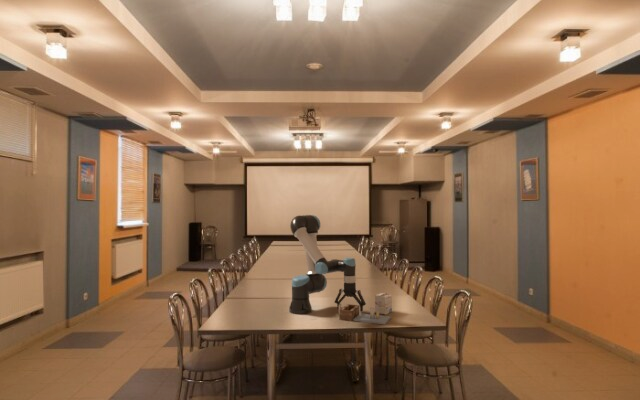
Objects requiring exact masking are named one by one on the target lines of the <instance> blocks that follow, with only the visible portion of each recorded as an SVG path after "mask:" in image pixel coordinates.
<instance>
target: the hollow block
mask: <svg viewBox="0 0 640 400" xmlns="http://www.w3.org/2000/svg"><path fill="white" fill-rule="evenodd" d="M359 306H360V305H359V304H349V303H348V304H347V303H346V305H344V306H343V307H341V309H340V310H339V309H338V315H339V320H340V321H348V322H349V321H350V322H352V321H354V318H355V317H356V316H358V315H359Z"/></svg>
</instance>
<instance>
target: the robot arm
mask: <svg viewBox="0 0 640 400" xmlns="http://www.w3.org/2000/svg"><path fill="white" fill-rule="evenodd" d="M289 226H290V231H291V233H292V235H293V236H294V237H295V238H297V239H298V241H299V243H300V244H301V245H302V246H303V248H304V250H305V258H306V259H305V260H306V266H307V271H306V273H305V274H301V275H300V274H299V275H296V276H294V277H293V278H292V279H291V301H290V304H289V309H288V310H289V311H288V312H289V313H291V314H295V315H305V314H310V313H312V311H313V309H312V308H313V307H312V305H311V301H310V295H311V294H315V293H320V292H323V291H324V290H325V289H326V288H327V283H328V281H327V278H326V276H325V275H326V274H329V273H330V274H331V273H337V272H340V273H343V288H339V290H338V293H337V296H336V297H335V299H334V304H336V306H337V308H336V309H337V310H338V311H339V310H340V309H342V302H343V300H344V299H345V298H346V297H347V298H349V297H350V298H354V300H355V301H356V302H357V304H358V305H359V317H360V316H361V313H362V312H363V311H364V306H365V305H366V304H367V303H366V301H365V299H364V296H363V295H362V292H361V289H359V290H358V289H357V288H356V287H357V286H356V280H357V279H356V277H357V275H356V259H355V258H354V257H344V258H343V260H342V259H337V258H336V259H335V258H334V259H331V260H328V259H326V257H325V256H324V254H323V253H322V252H321V250H320V249H319V247H318V241H317V236H318V234H319V230H320V228H321V221H320V219H319V218H318V216H317V215H313V214H312V215H311V214H305V215H304V214H303V215H296V216H294V217H293V218H292V220H291V221H290V225H289ZM356 289H357V290H356ZM342 293H344V294H343V295H342ZM356 294H357V295H356ZM341 295H342V297H341Z"/></svg>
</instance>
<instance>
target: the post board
mask: <svg viewBox="0 0 640 400" xmlns="http://www.w3.org/2000/svg"><path fill="white" fill-rule="evenodd" d="M375 313H376V314H375ZM390 320H391V316H390V315H389V316H387V315H381V314H380V313H379V312H375V307H370V308H369V313H362V312H361V316H360V317H359V315H358V316H356V317H355V318H354V319H353V321H354V322H362V323H369V324H376V325H377V324H379V325H386V324H387V323H388V322H389V321H390Z"/></svg>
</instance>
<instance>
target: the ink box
mask: <svg viewBox="0 0 640 400" xmlns="http://www.w3.org/2000/svg"><path fill="white" fill-rule="evenodd" d="M388 293H389V291H387V292H383V293H382V292H380V293H378V294H375V295H374V308H375V313H376V312H379V314H380V315H388V314H390V313H392V311H393V295H392V294H388Z"/></svg>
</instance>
